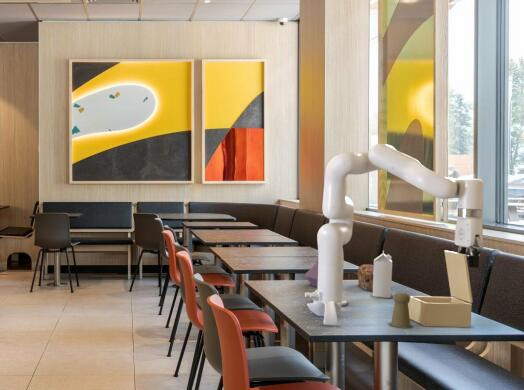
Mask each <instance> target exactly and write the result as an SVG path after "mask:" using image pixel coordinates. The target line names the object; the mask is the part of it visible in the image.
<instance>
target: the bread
mask: <svg viewBox="0 0 524 390" xmlns="http://www.w3.org/2000/svg"><path fill="white" fill-rule="evenodd" d="M373 272H374V264H369V263H367V264H361V265H360V266H359V267H358V270H357V282H358V285H359V286H360V287H361V288H362V289H364V290H365V291H369V292H373Z"/></svg>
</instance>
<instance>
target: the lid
mask: <svg viewBox="0 0 524 390" xmlns="http://www.w3.org/2000/svg"><path fill="white" fill-rule="evenodd" d="M444 256H445V257H444V258H445V264H446V270H447V271H446V272H447V278H448V283H449V292H450V297H453V298H456V299H459V300H462V301H464V302H467V303H470V304H472V303H474V301H473V294H472V287H471V281H470V279H471V278H470V272H469V264H467V260H468V261H469V256H470V255H469V254H468V255H465V254H460V253H458V252H456V251H450V250H446V249H445V250H444Z"/></svg>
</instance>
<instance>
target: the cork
mask: <svg viewBox="0 0 524 390" xmlns="http://www.w3.org/2000/svg"><path fill="white" fill-rule="evenodd" d="M410 296H411V295H409V294H408V293H406V292H395V293H393V296H392V299H393V303H394V305H393V306H394V307H393V311H392V317H391V322H390V325H391V326H392V327H395V328H402V329H403V328H405V329H407V328H411V319H410V318H409V308H408V304H409V302H410Z"/></svg>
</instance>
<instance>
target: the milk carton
mask: <svg viewBox="0 0 524 390" xmlns="http://www.w3.org/2000/svg"><path fill="white" fill-rule="evenodd" d="M384 252H385V251H384V250H382V253H381V254H380V255H379V256H377V257H375V258H374V259H373V265H374V272H373V291H372V297H375V298H386V299H391V298H392V280H393V279H392V277H393V260H392V259H393V258H392V255H390V254H389V253H387V254H386V253H384Z"/></svg>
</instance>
